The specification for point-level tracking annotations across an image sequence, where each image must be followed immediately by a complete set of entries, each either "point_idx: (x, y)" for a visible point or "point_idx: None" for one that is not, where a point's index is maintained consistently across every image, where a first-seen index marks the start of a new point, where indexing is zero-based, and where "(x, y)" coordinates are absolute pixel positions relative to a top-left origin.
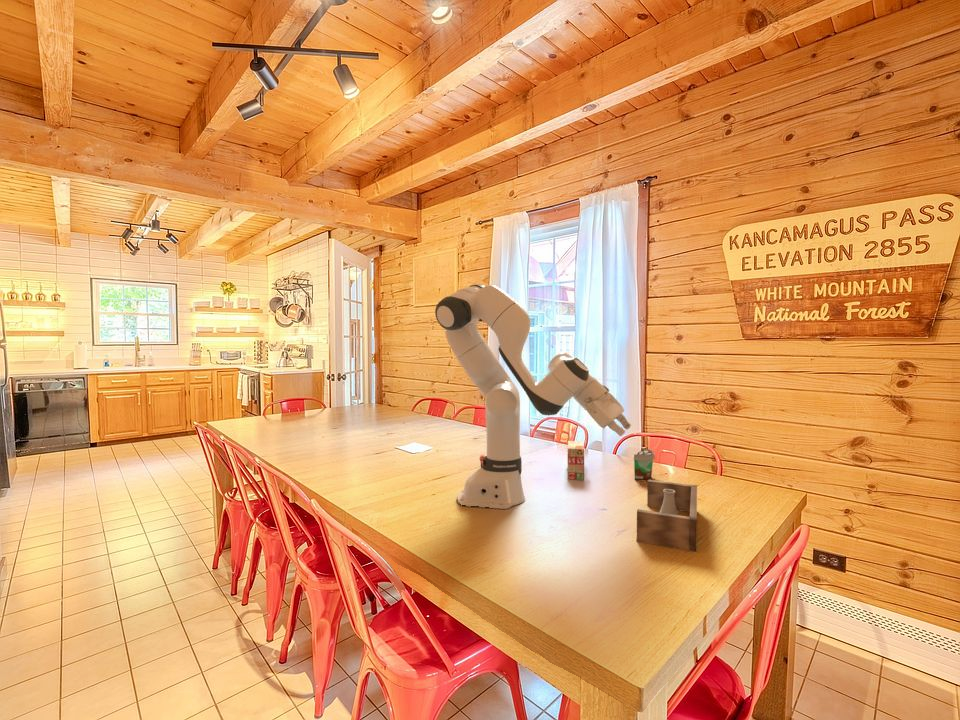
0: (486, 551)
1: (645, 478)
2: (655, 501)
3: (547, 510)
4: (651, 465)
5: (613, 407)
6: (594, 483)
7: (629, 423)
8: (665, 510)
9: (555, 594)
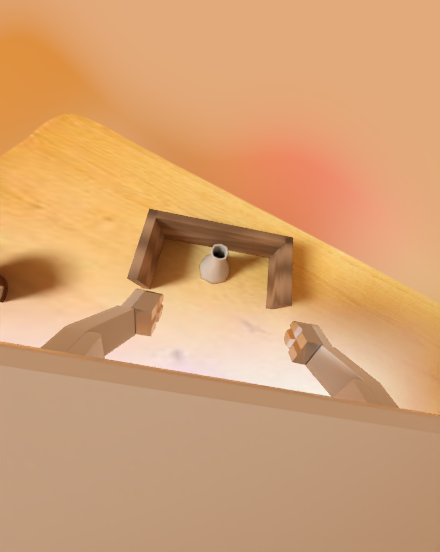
0: None
1: (2, 281)
2: (150, 276)
3: None
4: None
5: (156, 526)
6: None
7: (134, 295)
8: (224, 267)
9: (411, 387)
